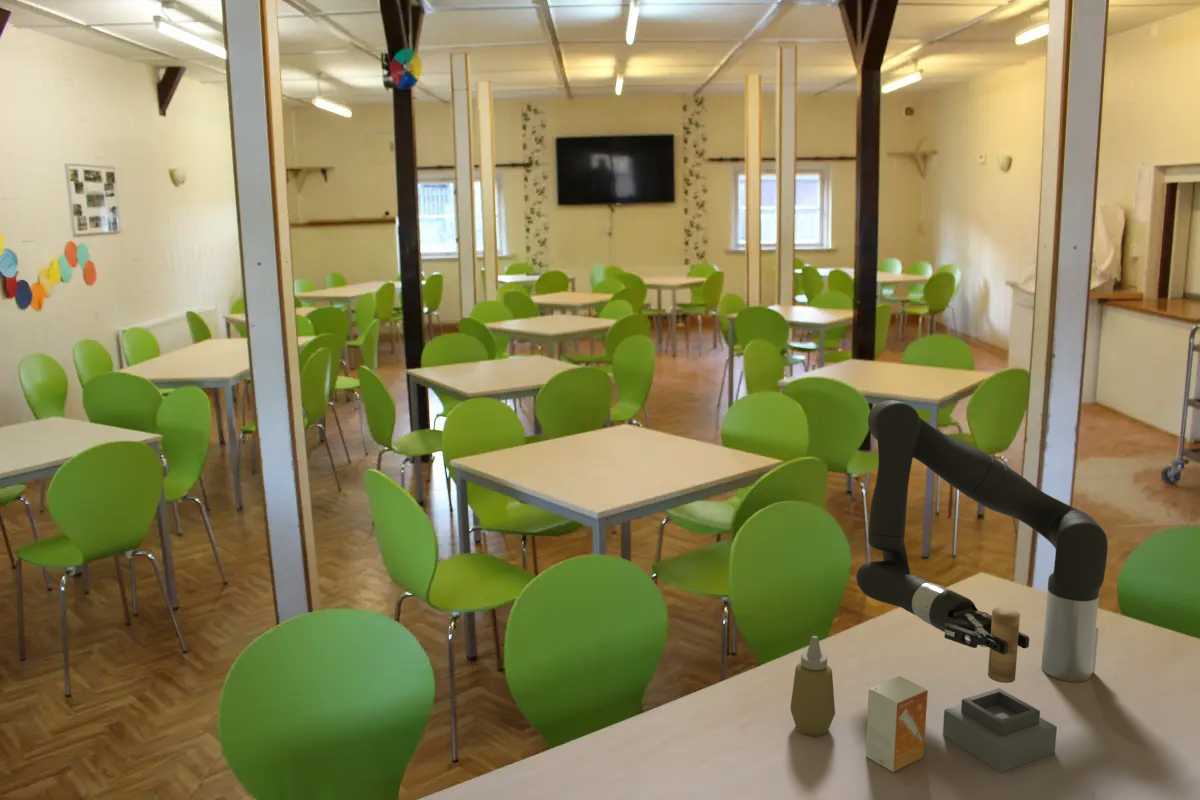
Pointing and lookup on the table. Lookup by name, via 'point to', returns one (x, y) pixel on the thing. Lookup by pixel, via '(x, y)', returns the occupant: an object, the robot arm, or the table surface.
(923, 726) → the small box
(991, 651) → the cardboard roll
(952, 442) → the robot arm
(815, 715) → the squeeze bottle
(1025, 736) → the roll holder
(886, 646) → the table surface
